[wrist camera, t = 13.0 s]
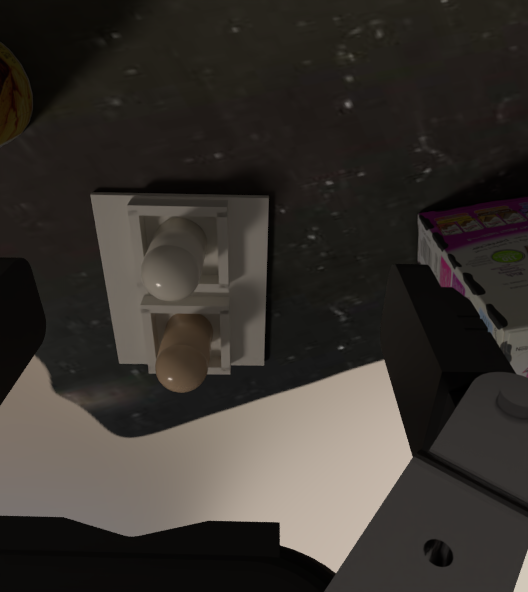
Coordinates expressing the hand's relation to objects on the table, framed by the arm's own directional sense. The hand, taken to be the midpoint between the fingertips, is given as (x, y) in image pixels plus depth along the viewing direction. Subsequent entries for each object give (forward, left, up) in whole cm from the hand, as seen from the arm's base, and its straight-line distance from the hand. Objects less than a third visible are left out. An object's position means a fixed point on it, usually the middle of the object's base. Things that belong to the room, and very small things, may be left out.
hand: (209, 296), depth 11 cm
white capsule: (+5, +12, -27) cm, 30 cm away
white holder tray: (+5, +16, -28) cm, 33 cm away
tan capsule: (+5, +21, -27) cm, 34 cm away
